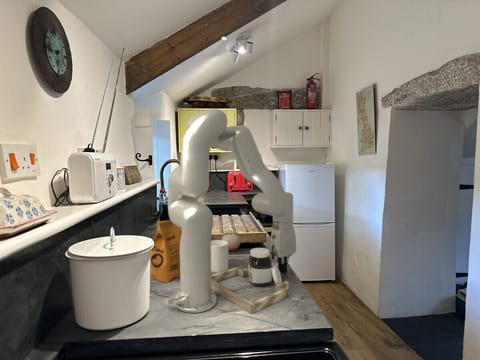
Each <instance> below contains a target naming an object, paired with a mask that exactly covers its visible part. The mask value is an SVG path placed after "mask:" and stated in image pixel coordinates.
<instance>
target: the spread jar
mask: <svg viewBox="0 0 480 360" xmlns="http://www.w3.org/2000/svg"><path fill="white" fill-rule="evenodd" d="M249 252H250V253H249V254H250V255H249V257H248V267H247V268H248V270H249V276H248V280H249V282H250V284H251V285H253V286H255V287H266V286H268V285H270V284H271V283H272V281H274V284H275V285H278V284H280V283H283V281H282V277H281V273H280V272H279V269H278V265H274V266H272V265H273V264H272V258H271V257H270V249H268V248H265V247H255V248H251V249H250V251H249Z"/></svg>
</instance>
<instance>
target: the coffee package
mask: <svg viewBox="0 0 480 360" xmlns="http://www.w3.org/2000/svg"><path fill="white" fill-rule="evenodd" d="M155 226H157V229H156V233H155V236H154V237H153V239H152V241H154V247H153V249H152V250H151V251H150V250H149V260H150V259H151V276H150V278H151V279H152V280H156V281H158V282H160V283H169V282H171V281H172V280H173V279H177V278H179V277H180V239H181V234H182V229H181V228H179V227H177V226H175V225H174V224H173V223H172V222H171V220H170V219H168V220H162V221H161V220H160V221H156V222H155Z"/></svg>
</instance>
